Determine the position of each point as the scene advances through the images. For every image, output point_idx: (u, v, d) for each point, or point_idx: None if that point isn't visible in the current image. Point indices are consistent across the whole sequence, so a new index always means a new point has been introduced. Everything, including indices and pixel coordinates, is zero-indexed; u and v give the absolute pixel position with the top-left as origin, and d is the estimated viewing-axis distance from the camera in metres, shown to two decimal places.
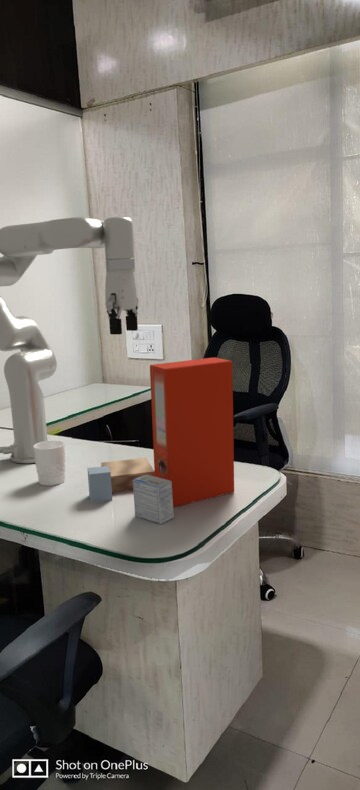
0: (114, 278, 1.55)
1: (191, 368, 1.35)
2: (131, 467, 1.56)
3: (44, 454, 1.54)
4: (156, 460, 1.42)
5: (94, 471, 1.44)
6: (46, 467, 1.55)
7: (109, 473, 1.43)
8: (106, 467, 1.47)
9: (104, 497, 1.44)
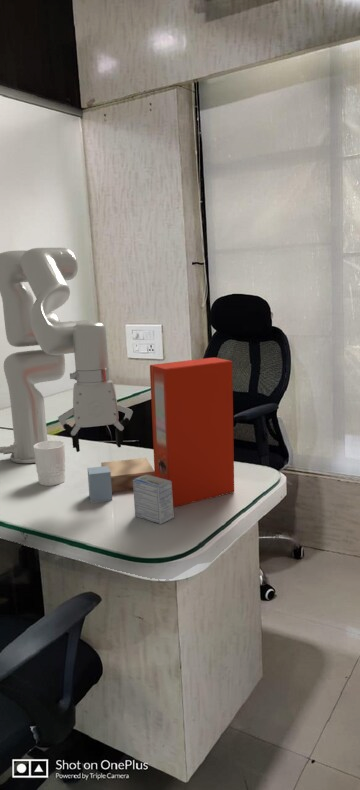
0: None
1: (191, 368, 1.35)
2: (131, 467, 1.56)
3: (44, 454, 1.54)
4: (156, 460, 1.42)
5: (94, 471, 1.44)
6: (46, 467, 1.55)
7: (109, 473, 1.43)
8: (106, 467, 1.47)
9: (104, 497, 1.44)
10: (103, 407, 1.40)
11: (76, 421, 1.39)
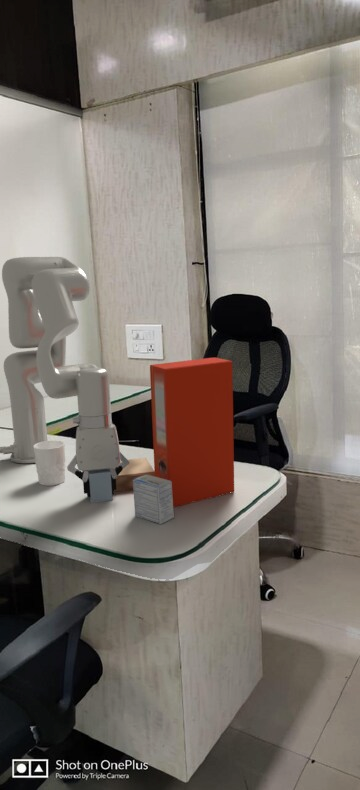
0: None
1: (191, 368, 1.35)
2: (131, 467, 1.56)
3: (44, 454, 1.54)
4: (156, 460, 1.42)
5: (94, 471, 1.44)
6: (46, 467, 1.55)
7: (109, 473, 1.43)
8: None
9: (104, 497, 1.44)
10: (105, 451, 1.42)
11: (79, 465, 1.41)
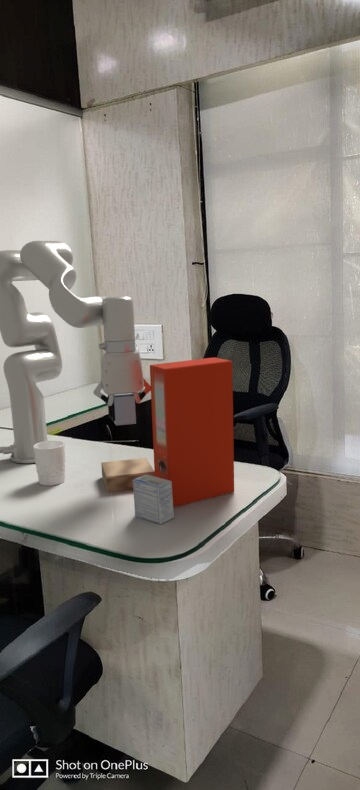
0: None
1: (191, 368, 1.35)
2: (131, 467, 1.56)
3: (44, 454, 1.54)
4: (156, 460, 1.42)
5: (118, 396, 1.52)
6: (46, 467, 1.55)
7: (133, 397, 1.51)
8: (130, 393, 1.54)
9: (128, 421, 1.51)
10: (130, 376, 1.49)
11: (104, 389, 1.49)
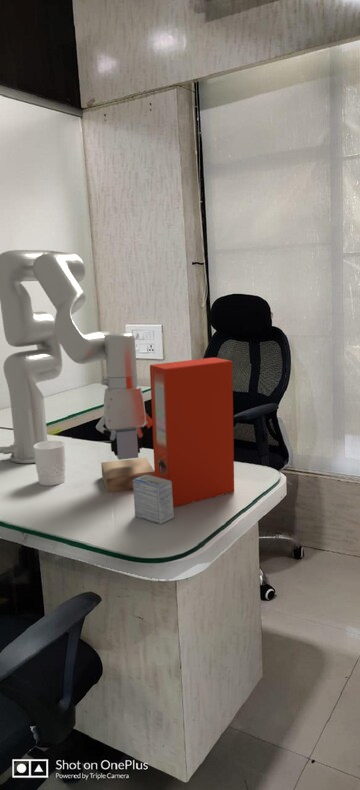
0: None
1: (191, 368, 1.35)
2: (131, 467, 1.56)
3: (44, 454, 1.54)
4: (156, 460, 1.42)
5: (121, 430, 1.53)
6: (46, 467, 1.55)
7: (135, 431, 1.52)
8: None
9: (131, 455, 1.53)
10: (132, 411, 1.51)
11: (107, 424, 1.50)
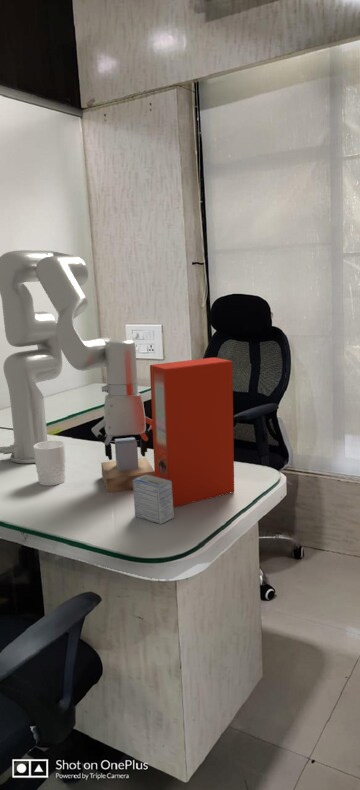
0: None
1: (191, 368, 1.35)
2: None
3: (44, 454, 1.54)
4: (156, 460, 1.42)
5: (121, 441, 1.54)
6: (46, 467, 1.55)
7: (136, 443, 1.53)
8: (132, 438, 1.56)
9: (131, 466, 1.54)
10: (132, 418, 1.51)
11: (107, 431, 1.51)
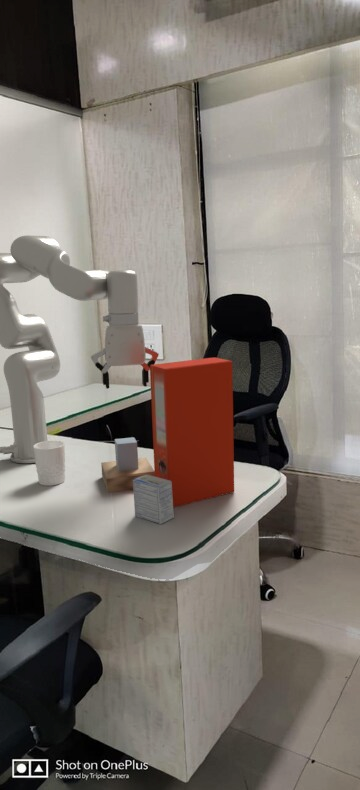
0: None
1: (191, 368, 1.35)
2: None
3: (44, 454, 1.54)
4: (156, 460, 1.42)
5: (121, 441, 1.54)
6: (46, 467, 1.55)
7: (136, 443, 1.53)
8: (132, 438, 1.56)
9: (131, 466, 1.54)
10: (132, 348, 1.53)
11: (107, 360, 1.53)
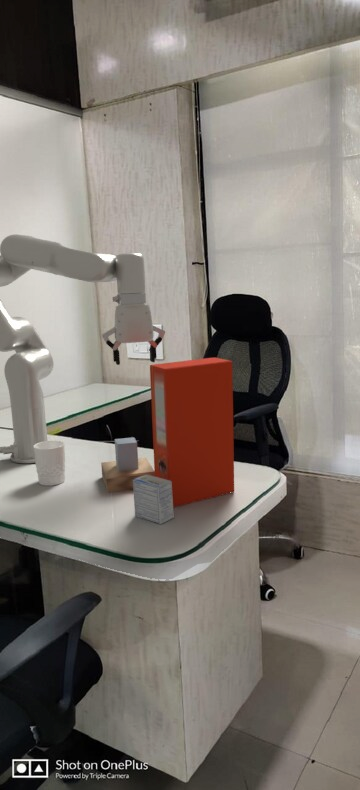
0: None
1: (191, 368, 1.35)
2: None
3: (44, 454, 1.54)
4: (156, 460, 1.42)
5: (121, 441, 1.54)
6: (46, 467, 1.55)
7: (136, 443, 1.53)
8: (132, 438, 1.56)
9: (131, 466, 1.54)
10: (141, 326, 1.64)
11: (118, 337, 1.63)
